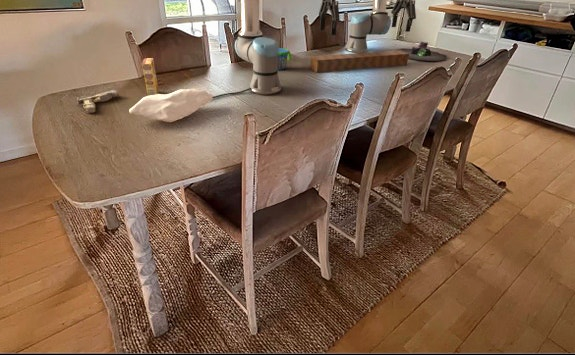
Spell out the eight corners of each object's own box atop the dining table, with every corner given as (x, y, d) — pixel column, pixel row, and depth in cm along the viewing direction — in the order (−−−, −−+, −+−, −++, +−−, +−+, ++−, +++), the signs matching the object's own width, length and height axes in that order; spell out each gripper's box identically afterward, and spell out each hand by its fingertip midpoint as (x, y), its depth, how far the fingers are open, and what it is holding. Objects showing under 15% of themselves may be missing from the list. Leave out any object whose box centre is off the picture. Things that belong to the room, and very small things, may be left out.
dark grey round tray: (457, 57, 245) (460, 43, 240) (424, 63, 227) (427, 48, 223) (415, 49, 269) (417, 36, 265) (382, 54, 252) (384, 40, 247)
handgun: (128, 97, 156) (111, 87, 164) (86, 107, 144) (70, 97, 152) (129, 103, 157) (113, 94, 165) (88, 114, 146) (72, 103, 154)
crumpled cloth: (117, 110, 146) (113, 90, 140) (195, 92, 166) (194, 73, 160) (143, 139, 134) (140, 118, 128) (223, 116, 154) (224, 96, 148)
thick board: (316, 72, 206) (317, 60, 202) (310, 68, 213) (311, 56, 209) (406, 65, 226) (409, 53, 223) (398, 61, 233) (400, 50, 229)
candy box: (157, 97, 164) (152, 63, 155) (147, 98, 163) (141, 63, 155) (158, 91, 171) (153, 57, 163) (149, 91, 170) (143, 58, 162)
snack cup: (285, 64, 217) (285, 46, 212) (295, 68, 210) (296, 50, 204) (262, 67, 210) (262, 49, 204) (272, 72, 202) (272, 53, 197)
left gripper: (349, -8, 181) (344, 36, 192) (326, -14, 200) (323, 27, 211) (336, -8, 178) (331, 37, 190) (314, -14, 197) (311, 28, 209)
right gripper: (428, -9, 196) (419, 33, 208) (400, -13, 216) (393, 25, 227) (416, -9, 194) (408, 33, 205) (389, -13, 213) (383, 25, 225)
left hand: (327, 32), depth 200 cm, fingers open, 13 cm apart
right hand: (400, 29), depth 216 cm, fingers open, 13 cm apart
